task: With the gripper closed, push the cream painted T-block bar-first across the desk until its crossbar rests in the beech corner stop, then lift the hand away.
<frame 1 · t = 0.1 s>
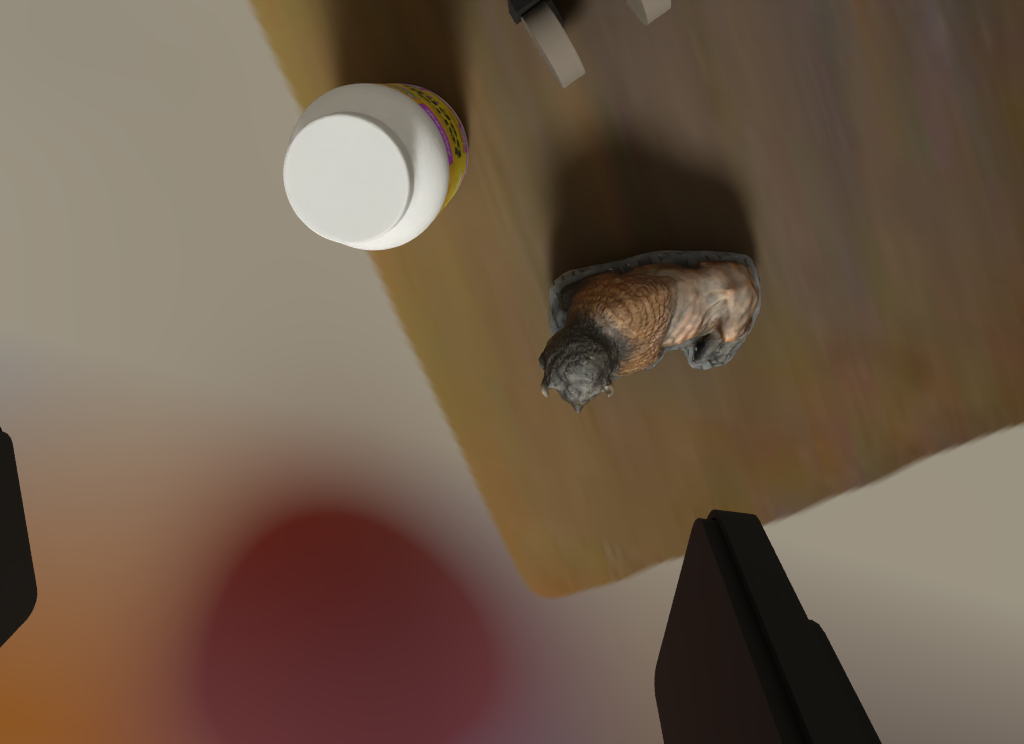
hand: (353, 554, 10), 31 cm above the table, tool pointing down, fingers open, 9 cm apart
supplement bottle: (408, 149, 38), on the table
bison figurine: (643, 302, 41), on the table
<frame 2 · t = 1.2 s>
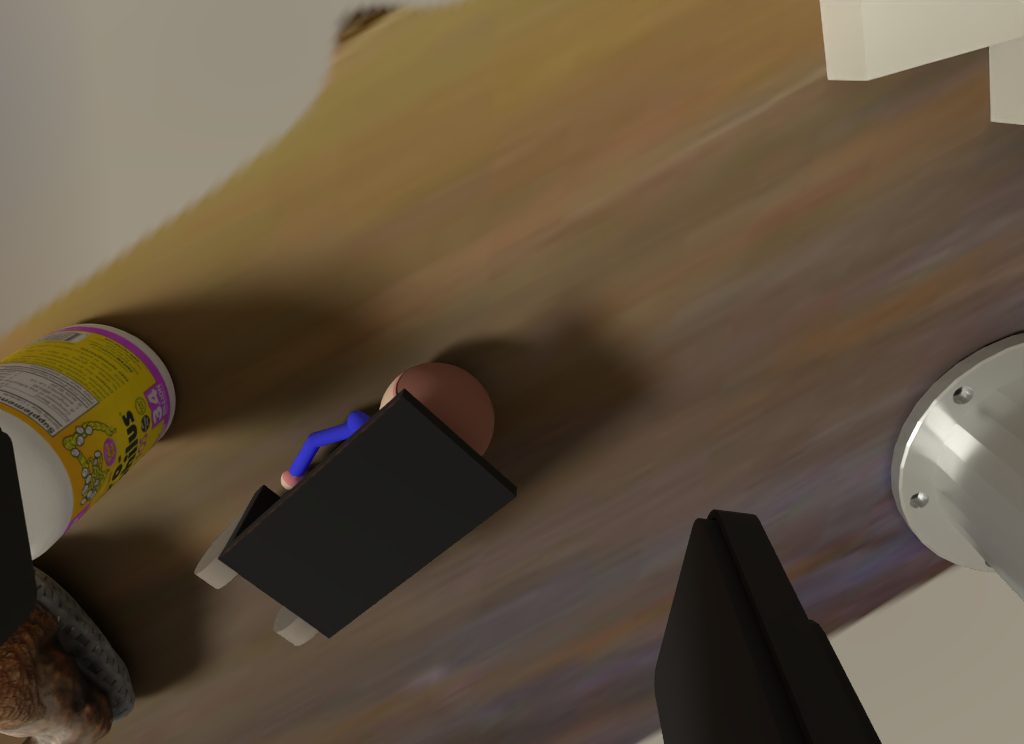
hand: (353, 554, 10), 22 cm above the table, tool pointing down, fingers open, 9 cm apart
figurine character: (372, 461, 35), on the table
supplement bottle: (113, 383, 34), on the table
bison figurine: (63, 619, 39), on the table
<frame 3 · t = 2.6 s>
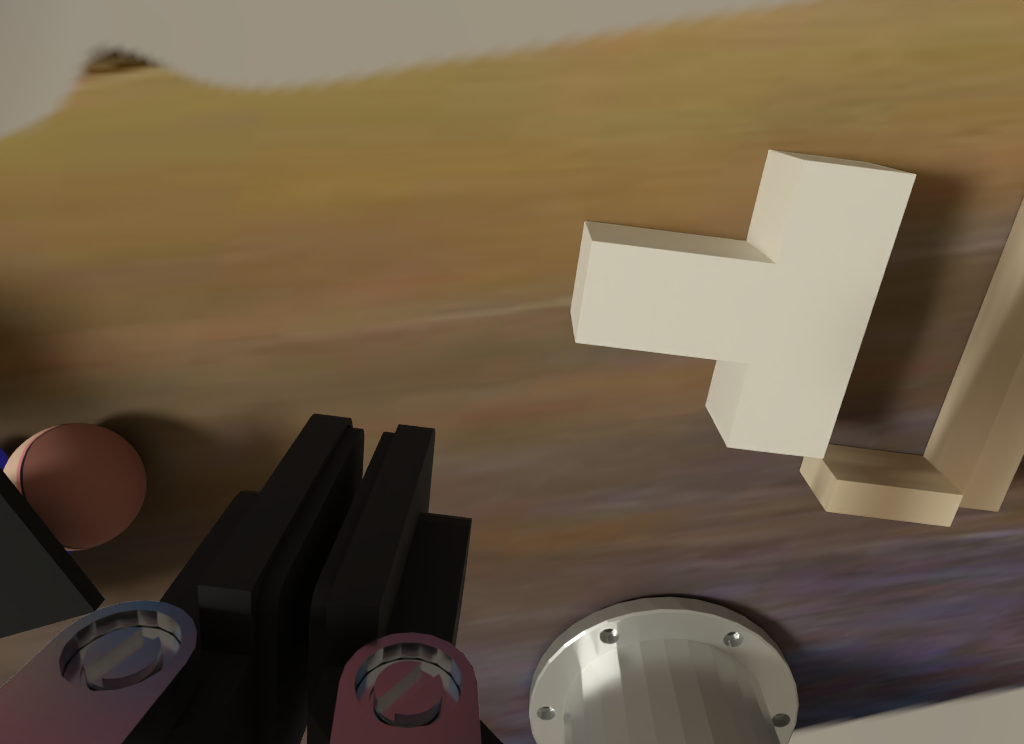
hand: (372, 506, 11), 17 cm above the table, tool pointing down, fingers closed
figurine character: (17, 491, 32), on the table
corner stop: (996, 320, 27), on the table
t block: (734, 286, 27), on the table
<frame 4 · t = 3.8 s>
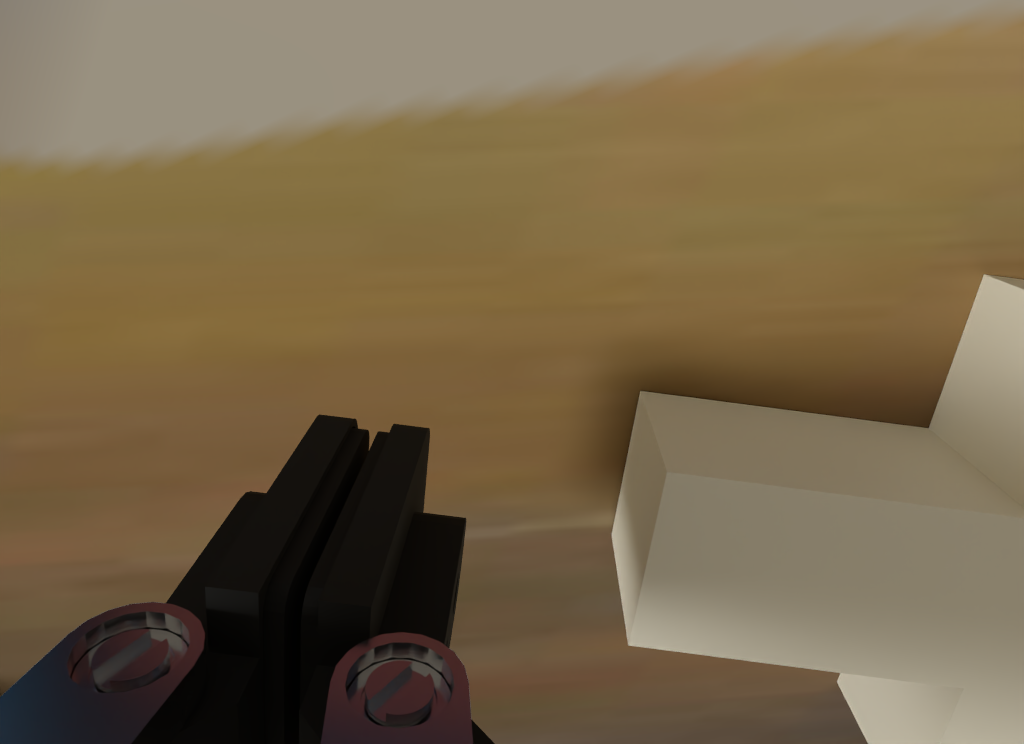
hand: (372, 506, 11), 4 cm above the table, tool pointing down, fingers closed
t block: (902, 501, 15), on the table
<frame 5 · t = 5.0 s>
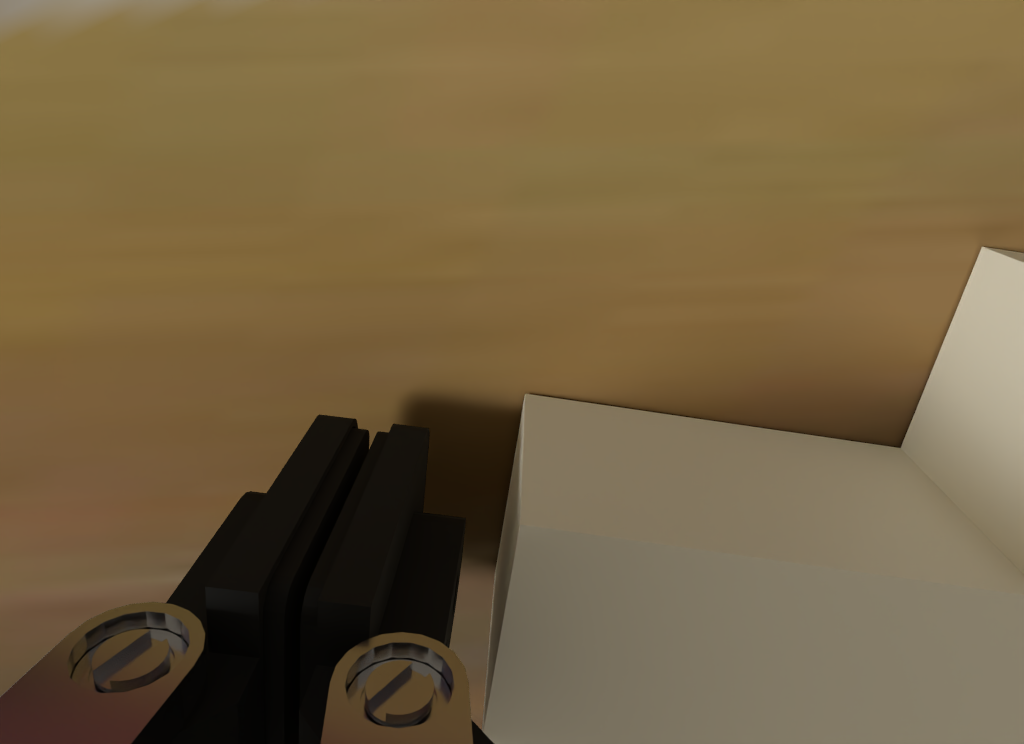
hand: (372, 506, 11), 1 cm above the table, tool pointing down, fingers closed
t block: (863, 539, 12), on the table, touching gripper
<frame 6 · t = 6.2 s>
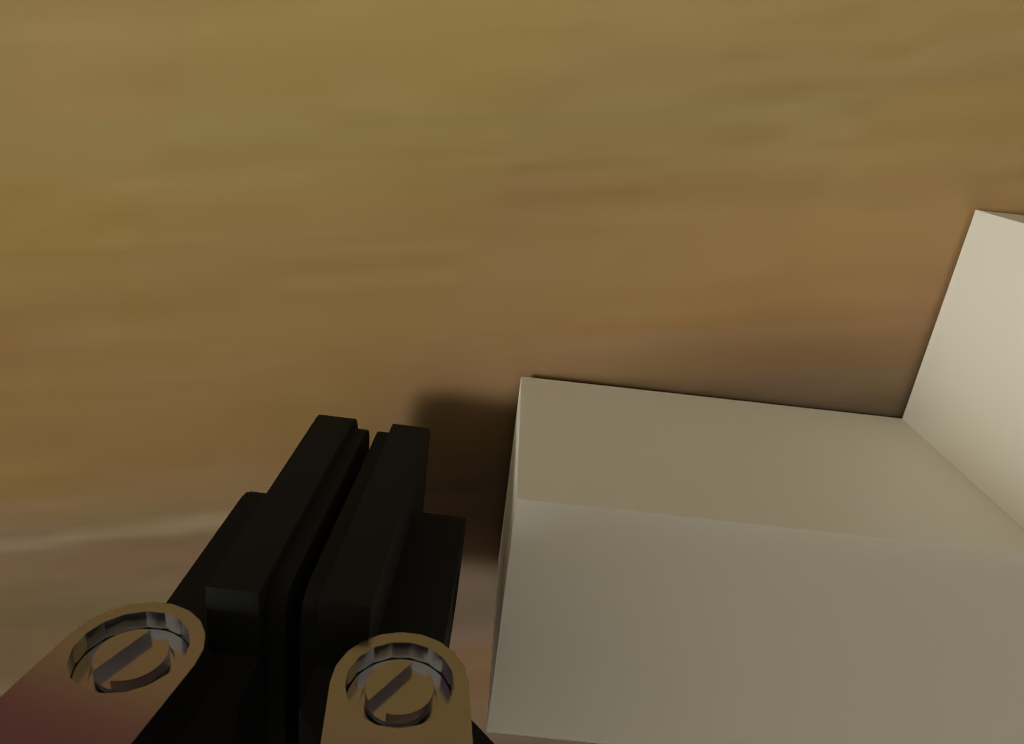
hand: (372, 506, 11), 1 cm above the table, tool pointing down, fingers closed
t block: (868, 513, 12), on the table, touching corner stop, gripper
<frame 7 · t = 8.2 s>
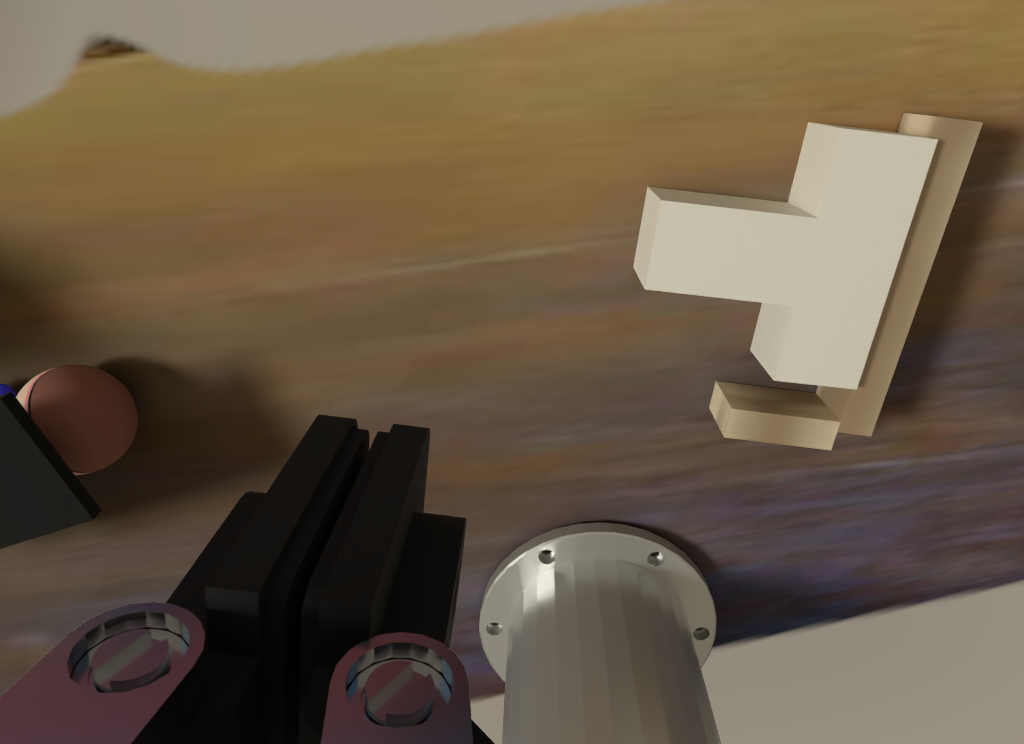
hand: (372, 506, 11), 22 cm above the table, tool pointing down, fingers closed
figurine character: (24, 430, 36), on the table
corner stop: (871, 271, 31), on the table
t block: (777, 243, 31), on the table
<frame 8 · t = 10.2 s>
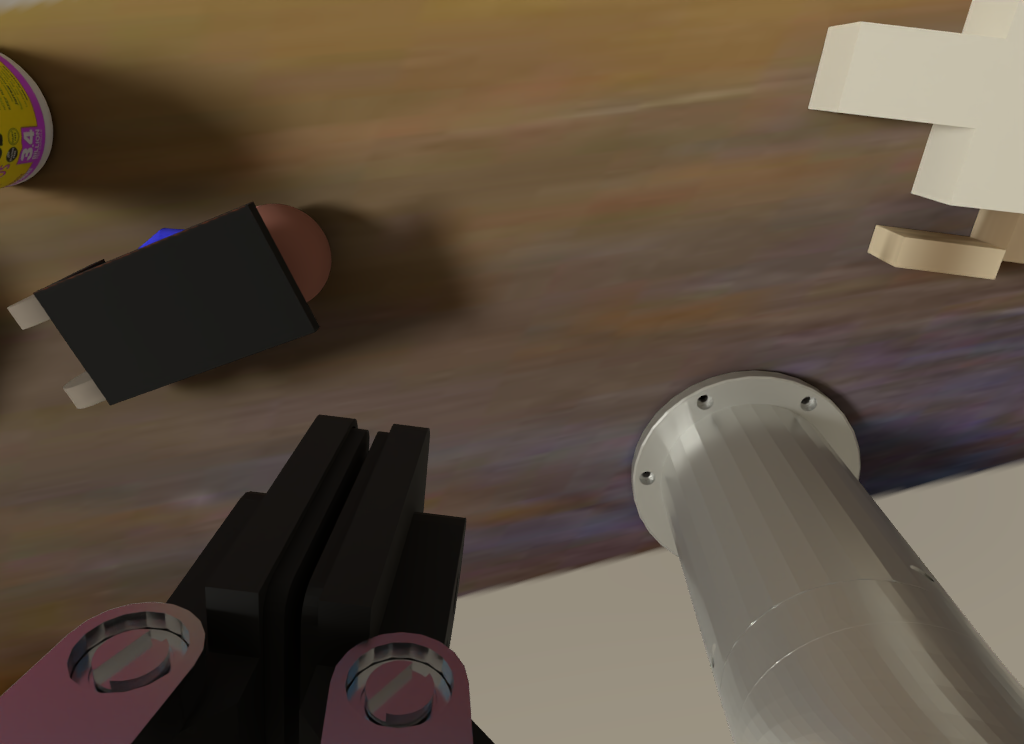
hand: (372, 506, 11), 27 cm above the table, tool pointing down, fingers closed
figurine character: (211, 281, 38), on the table
t block: (945, 83, 33), on the table
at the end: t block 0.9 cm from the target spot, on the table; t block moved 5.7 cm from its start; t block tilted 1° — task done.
